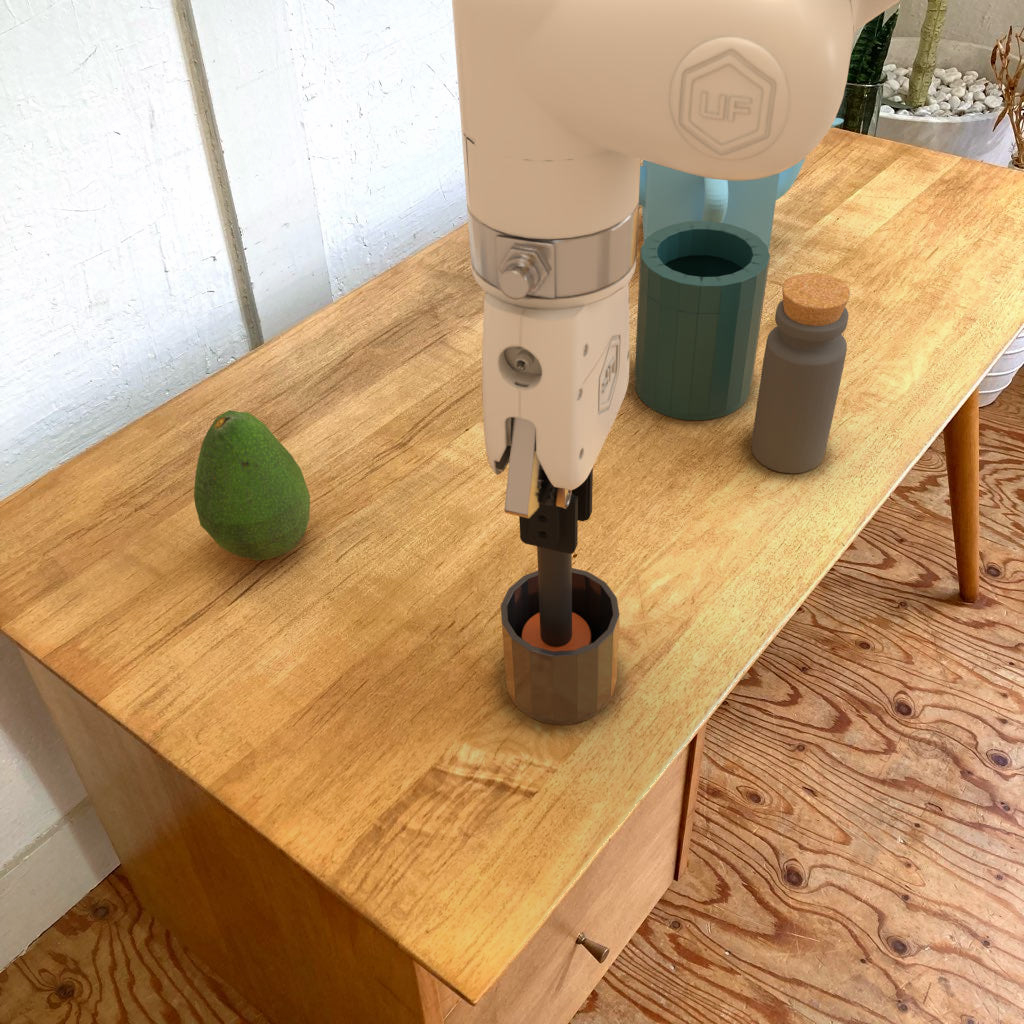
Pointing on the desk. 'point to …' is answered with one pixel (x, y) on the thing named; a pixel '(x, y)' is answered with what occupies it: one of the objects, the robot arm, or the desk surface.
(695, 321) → the jar
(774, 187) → the teakettle
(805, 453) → the bottle
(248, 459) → the fruit
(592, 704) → the holder
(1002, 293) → the desk surface
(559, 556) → the rod with orange collar
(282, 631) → the desk surface
